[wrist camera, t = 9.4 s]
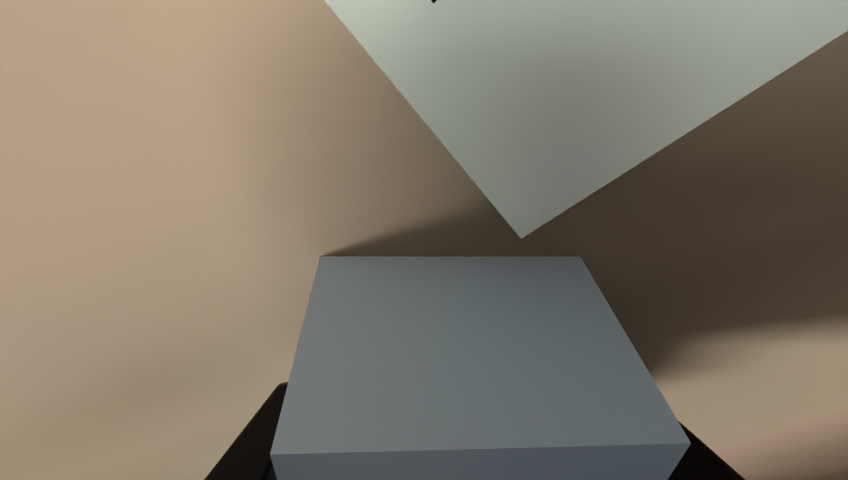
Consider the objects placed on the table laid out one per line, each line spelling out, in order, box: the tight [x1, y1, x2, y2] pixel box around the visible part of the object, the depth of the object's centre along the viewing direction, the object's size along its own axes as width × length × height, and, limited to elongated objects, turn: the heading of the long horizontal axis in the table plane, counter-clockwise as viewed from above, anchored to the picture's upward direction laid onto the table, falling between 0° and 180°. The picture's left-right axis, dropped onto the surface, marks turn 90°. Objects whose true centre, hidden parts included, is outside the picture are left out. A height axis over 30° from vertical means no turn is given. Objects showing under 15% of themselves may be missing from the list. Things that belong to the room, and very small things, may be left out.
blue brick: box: [270, 256, 691, 480], centre depth 8 cm, size 5×5×4 cm
